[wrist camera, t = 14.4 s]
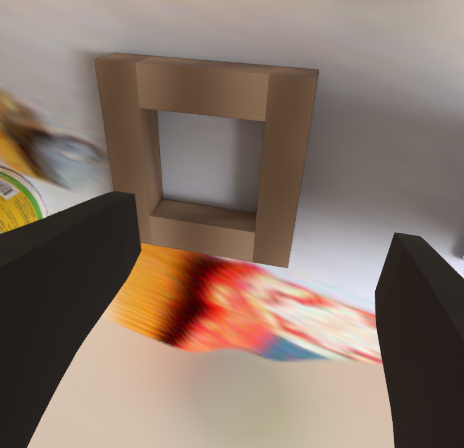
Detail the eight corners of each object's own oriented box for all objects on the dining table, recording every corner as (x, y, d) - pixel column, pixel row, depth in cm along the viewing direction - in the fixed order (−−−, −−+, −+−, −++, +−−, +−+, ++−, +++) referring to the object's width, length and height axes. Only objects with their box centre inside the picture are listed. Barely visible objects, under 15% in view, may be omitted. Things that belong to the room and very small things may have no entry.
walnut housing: (318, 69, 17) (317, 78, 15) (291, 247, 22) (287, 268, 21) (115, 52, 18) (94, 59, 17) (135, 222, 24) (121, 239, 22)
